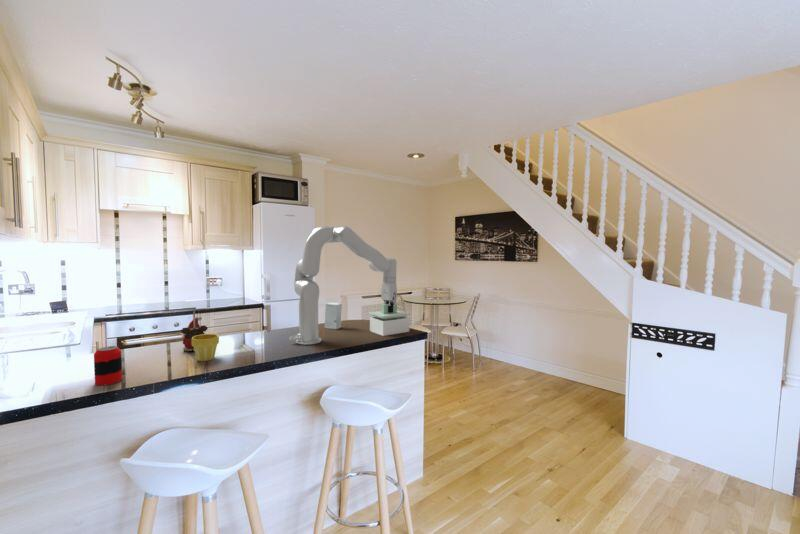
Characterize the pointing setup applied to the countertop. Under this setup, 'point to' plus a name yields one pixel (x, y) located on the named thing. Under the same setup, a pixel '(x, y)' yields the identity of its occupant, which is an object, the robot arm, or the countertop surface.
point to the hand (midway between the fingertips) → (389, 311)
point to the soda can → (107, 365)
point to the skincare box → (333, 315)
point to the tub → (389, 325)
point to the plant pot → (205, 346)
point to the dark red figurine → (192, 332)
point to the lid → (385, 314)
